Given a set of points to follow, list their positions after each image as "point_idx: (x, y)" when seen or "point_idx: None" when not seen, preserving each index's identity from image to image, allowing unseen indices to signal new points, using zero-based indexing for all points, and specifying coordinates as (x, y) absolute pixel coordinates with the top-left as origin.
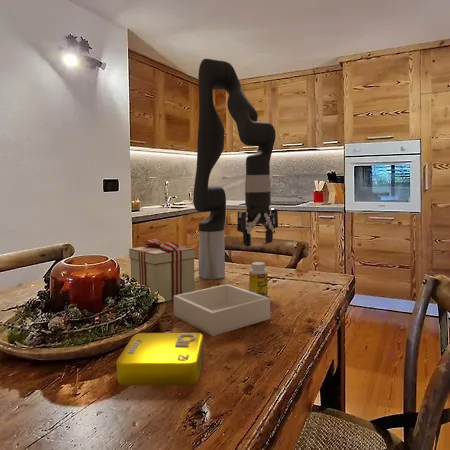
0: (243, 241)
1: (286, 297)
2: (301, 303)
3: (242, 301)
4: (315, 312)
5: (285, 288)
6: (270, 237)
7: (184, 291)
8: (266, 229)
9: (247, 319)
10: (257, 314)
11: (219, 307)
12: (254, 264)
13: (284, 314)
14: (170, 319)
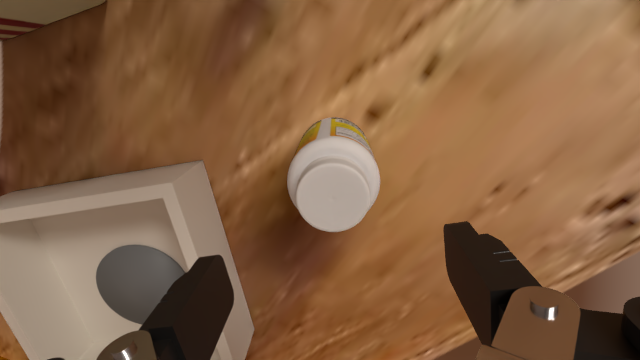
0: (170, 291)
1: (409, 212)
2: (407, 280)
3: None
4: (385, 347)
5: (490, 116)
6: (466, 307)
7: (39, 16)
8: (513, 298)
9: None
10: None
11: (150, 212)
12: (299, 210)
13: (305, 322)
14: None
